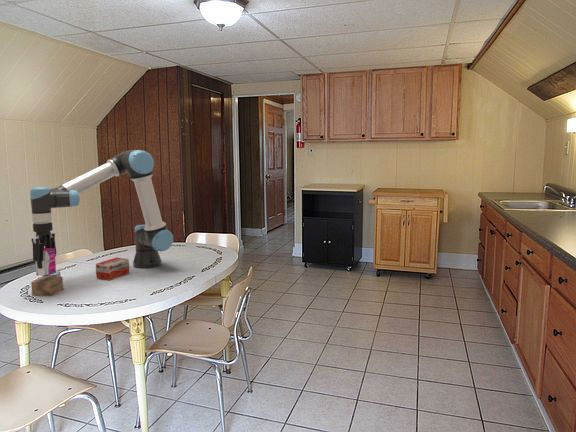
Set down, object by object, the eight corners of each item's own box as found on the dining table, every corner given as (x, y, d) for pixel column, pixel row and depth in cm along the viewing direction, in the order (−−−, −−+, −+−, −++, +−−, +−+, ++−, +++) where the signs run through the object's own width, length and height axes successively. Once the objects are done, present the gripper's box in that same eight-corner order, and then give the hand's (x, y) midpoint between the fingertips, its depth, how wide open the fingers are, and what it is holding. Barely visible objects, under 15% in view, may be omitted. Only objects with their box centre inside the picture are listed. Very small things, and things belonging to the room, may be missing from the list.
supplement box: (47, 276, 191) (45, 250, 190) (35, 275, 193) (33, 250, 191) (56, 272, 197) (54, 248, 195) (45, 272, 198) (43, 247, 196)
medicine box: (108, 281, 214) (107, 265, 213) (96, 279, 217) (94, 263, 216) (130, 273, 228) (129, 258, 227) (117, 271, 231) (117, 257, 230)
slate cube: (61, 283, 210) (60, 271, 209) (57, 287, 204) (56, 274, 203) (47, 284, 208) (46, 272, 207) (43, 288, 202) (42, 275, 202)
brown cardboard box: (63, 289, 200) (62, 276, 199) (52, 295, 191) (51, 282, 190) (44, 289, 201) (43, 276, 200) (32, 295, 192) (31, 282, 191)
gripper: (47, 219, 201) (50, 267, 204) (19, 225, 182) (24, 279, 185) (62, 219, 201) (66, 267, 204) (37, 225, 182) (41, 279, 185)
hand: (46, 273), depth 195 cm, fingers closed on supplement box, 6 cm apart
